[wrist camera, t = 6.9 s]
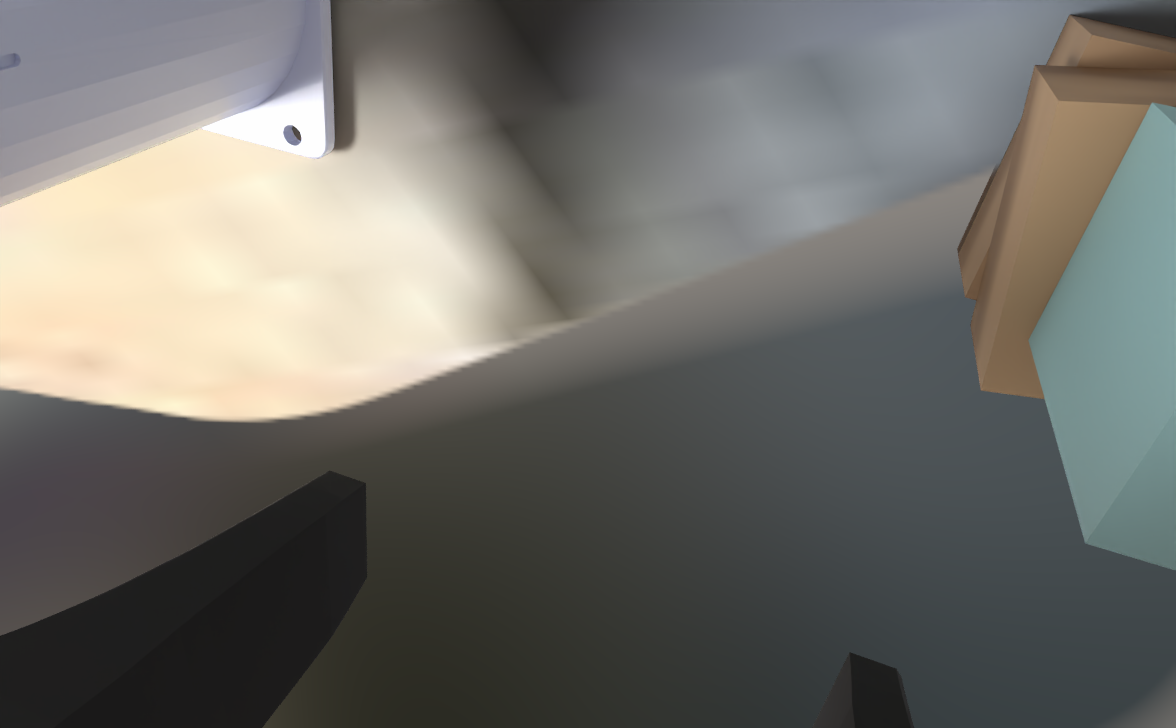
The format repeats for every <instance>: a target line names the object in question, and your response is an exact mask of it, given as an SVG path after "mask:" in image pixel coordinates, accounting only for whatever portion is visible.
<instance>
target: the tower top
mask: <svg viewBox="0 0 1176 728" xmlns="http://www.w3.org/2000/svg"><path fill="white" fill-rule="evenodd" d="M1152 102H1153V103H1158V104H1162V105H1167V106H1172V107H1176V70H1153V69H1127V68H1101V67H1074V66H1048V65H1035V66H1034V70H1033V74H1032V78H1031V82H1030V86H1029V90H1028V94H1027V99H1026V103H1025V107H1024V111H1023V115H1022V119H1021V123H1020V127H1019V131H1018V135H1017V139H1016V143H1015V147H1014V151H1013V155H1012V159H1011V163H1010V167H1009V171H1008V175H1007V179H1006V183H1005V187H1004V191H1003V195H1002V199H1001V203H1000V207H999V212H998V216H997V220H996V224H995V228H994V232H993V236H992V240H991V244H990V248H989V252H988V256H987V260H986V264H985V268H984V272H983V276H982V280H981V285H980V289H979V293H978V297H977V300H976V305H975V308H974V312H973V316H972V320H971V331H972V338H973V344H974V350H975V357H976V363H977V369H978V375H979V382H980V388H981V390H982V391H989V392H997V393H1005V394H1011V395H1019V396H1026V397H1033V398H1040V399H1045V398H1044V394H1043V391H1042V387H1041V384H1040V380H1039V376H1038V373H1037V369H1036V366H1035V362H1034V359H1033V355H1032V351H1031V348H1030V344H1029V341H1028V340H1029V338H1030V336H1031V334H1032V332H1033V330H1034V328H1035V326H1036V325H1037V323H1038V321H1039V319H1040V317H1041V315H1042V313H1043V311H1044V309H1045V307H1046V305H1047V303H1048V301H1049V300H1050V298H1051V296H1052V294H1053V292H1054V290H1055V288H1056V286H1057V284H1058V282H1059V280H1060V278H1061V276H1062V275H1063V273H1064V271H1065V269H1066V267H1067V265H1068V263H1069V261H1070V259H1071V257H1072V255H1073V253H1074V252H1075V250H1076V248H1077V246H1078V244H1079V242H1080V240H1081V238H1082V236H1083V234H1084V232H1085V230H1086V228H1087V227H1088V225H1089V223H1090V221H1091V219H1092V217H1093V215H1094V213H1095V211H1096V209H1097V207H1098V205H1099V203H1100V202H1101V200H1102V198H1103V196H1104V194H1105V192H1106V190H1107V188H1108V186H1109V184H1110V182H1111V180H1112V178H1113V177H1114V175H1115V173H1116V171H1117V169H1118V167H1119V165H1120V163H1121V161H1122V159H1123V157H1124V155H1125V153H1126V152H1127V150H1128V148H1129V146H1130V144H1131V142H1132V140H1133V138H1134V136H1135V134H1136V132H1137V130H1138V129H1139V127H1140V125H1141V123H1142V121H1143V119H1144V117H1145V115H1146V113H1147V111H1148V109H1149V107H1150V105H1151V104H1152Z"/></svg>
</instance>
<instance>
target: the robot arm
mask: <svg viewBox="0 0 1176 728" xmlns="http://www.w3.org/2000/svg"><path fill="white" fill-rule="evenodd" d="M293 126H294V127H296V128H297V129H298V130H299V132H300V134H301V137H302V139H301V140H299V139H297V138H296V136H295V135H294V133H293V130H292V127H293ZM198 129H204V130H207V131H211V132H215V133H219V134H222V135H226V136H230V137H234V138H237V139H241V140H245V141H249V142H252V143H256V144H260V145H264V146H267V147H271V148H275V149H279V150H282V151H286V152H290V153H293V154H297V155H301V156H305V157H308V158H314V159H319V158H321V157H323V156H325V155H327V154H329V153H330V152H331V151H332V150H333V148H334V143H335V128H334V97H333V66H332V36H331V5H330V0H0V207H2V206H4V205H7V204H9V203H12V202H14V201H17V200H19V199H22V198H24V197H27V196H30V195H32V194H35V193H37V192H40V191H42V190H45V189H47V188H50V187H52V186H55V185H58V184H60V183H63V182H65V181H68V180H70V179H73V178H75V177H78V176H80V175H83V174H86V173H88V172H91V171H93V170H96V169H98V168H101V167H103V166H106V165H109V164H111V163H114V162H116V161H119V160H121V159H124V158H126V157H129V156H131V155H134V154H137V153H139V152H142V151H144V150H147V149H149V148H152V147H154V146H157V145H159V144H162V143H165V142H167V141H170V140H172V139H175V138H177V137H180V136H182V135H185V134H187V133H190V132H193V131H195V130H198ZM366 578H367V540H366V483H364V482H361V481H358V480H355V479H352V478H349V477H346V476H344V475H341V474H338V473H335V472H332V471H328V472H326V473H325V474H323V475H321V476H319V477H317V478H316V479H314V480H312V481H310V482H308V483H307V484H305V485H303V486H301V487H300V488H298V489H296V490H295V491H293V492H291V493H289V494H288V495H286V496H284V497H282V498H281V499H279V500H277V501H276V502H274V503H272V504H271V505H269V506H267V507H265V508H264V509H262V510H260V511H258V512H257V513H255V514H253V515H251V516H250V517H248V518H246V519H244V520H243V521H241V522H239V523H237V524H236V525H234V526H232V527H230V528H228V529H227V530H225V531H223V532H221V533H219V534H217V535H216V536H214V537H212V538H210V539H208V540H207V541H205V542H203V543H201V544H199V545H198V546H196V547H194V548H192V549H190V550H188V551H187V552H185V553H183V554H181V555H179V556H177V557H175V558H173V559H171V560H169V561H167V562H165V563H163V564H161V565H159V566H157V567H155V568H153V569H151V570H149V571H147V572H145V573H143V574H141V575H139V576H137V577H135V578H133V579H131V580H129V581H128V582H125V583H123V584H121V585H119V586H117V587H115V588H113V589H111V590H109V591H107V592H104V593H102V594H100V595H98V596H96V597H94V598H92V599H89V600H87V601H85V602H83V603H80V604H78V605H76V606H74V607H71V608H69V609H66V610H64V611H62V612H59V613H57V614H55V615H52V616H50V617H47V618H45V619H43V620H40V621H38V622H36V623H33V624H31V625H28V626H26V627H23V628H20V629H18V630H15V631H13V632H10V633H7V634H4V635H1V636H0V728H262V727H263V726H264V725H265V723H266V722H267V721H268V719H269V718H270V717H271V716H272V714H273V713H274V712H275V710H276V709H277V708H278V706H279V705H280V704H281V703H282V701H283V700H284V699H285V697H286V696H287V695H288V693H289V692H290V691H291V690H292V688H293V687H294V686H295V684H296V683H297V682H298V681H299V679H300V678H301V677H302V675H303V674H304V673H305V671H306V670H307V669H308V668H309V666H310V665H311V664H312V662H313V661H314V659H315V658H316V657H317V656H318V654H319V653H320V652H321V650H322V649H323V648H324V646H325V645H326V644H327V642H328V641H329V640H330V638H331V637H332V635H333V634H334V632H335V630H336V629H337V627H338V626H339V624H340V622H341V621H342V619H343V618H344V616H345V614H346V613H347V611H348V609H349V608H350V606H351V604H352V602H353V601H354V599H355V597H356V595H357V594H358V592H359V590H360V589H361V587H362V585H363V583H364V581H365V580H366ZM812 728H914V726H913V722H912V718H911V714H910V711H909V707H908V703H907V699H906V695H905V691H904V687H903V683H902V678H901V676H900V674H899V673H898V671H897V669H896V668H893V667H890V666H887V665H884V664H881V663H878V662H876V661H873V660H870V659H867V658H864V657H861V656H859V655H856V654H853V653H849V655H848V657H847V659H846V661H845V663H844V665H843V667H842V669H841V671H840V673H839V675H838V677H837V679H836V681H835V683H834V685H833V687H832V689H831V691H830V693H829V695H828V697H827V699H826V701H825V703H824V705H823V707H822V709H821V711H820V713H819V715H818V717H817V719H816V721H815V723H814V725H813V727H812Z"/></svg>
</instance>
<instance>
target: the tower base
mask: <svg viewBox="0 0 1176 728" xmlns="http://www.w3.org/2000/svg"><path fill="white" fill-rule="evenodd" d="M1046 65H1048V66H1074V67H1101V68H1127V69H1153V70H1176V38H1172V37H1168V36H1163V35H1159V34H1154V33H1150V32H1145V31H1141V30H1136V29H1132V28H1127V27H1122V26H1118V25H1113V24H1109V23H1104V22H1100V21H1095V20H1091V19H1086V18H1082V17H1077V16H1073V15H1069V17H1068V19H1067V21H1066V23H1065V26H1064V28H1063V30H1062V32H1061V34H1060V36H1059V39H1058V41H1057V43H1056V45H1055V47H1054V49H1053V52H1052V54H1051V56H1050V58H1049V60H1048V62H1047V64H1046ZM1021 119H1022V118H1021ZM1020 123H1021V121H1020ZM1020 123H1019V125H1018V127H1017V129H1016V131H1015V134H1014V136H1013V138H1012V140H1011V142H1010V144H1009V146H1008V149H1007V151H1006V153H1005V155H1004V157H1003V159H1002V162H1001V164H1000V166H999V167H997V168H994V169H993V172H992V174H991V176H990V178H989V181H988V182H987V185H986V187H985V189H984V191H983V193H982V196H981V198H980V200H979V202H978V204H977V206H976V209H975V211H974V213H973V215H972V217H971V220H970V222H969V224H968V226H967V228H966V230H965V233H964V235H963V237H962V239H961V241H960V244H959V246H958V248H957V251H958V256H959V262H960V269H961V275H962V281H963V288H964V293H965V297H966V298H970V299H973V300H977V297H978V293H979V289H980V285H981V280H982V276H983V272H984V268H985V264H986V260H987V256H988V252H989V248H990V244H991V240H992V236H993V232H994V228H995V224H996V220H997V216H998V212H999V207H1000V203H1001V199H1002V195H1003V191H1004V187H1005V183H1006V179H1007V175H1008V171H1009V167H1010V163H1011V159H1012V155H1013V151H1014V147H1015V143H1016V139H1017V135H1018V131H1019V127H1020Z"/></svg>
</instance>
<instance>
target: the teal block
mask: <svg viewBox="0 0 1176 728" xmlns="http://www.w3.org/2000/svg"><path fill="white" fill-rule="evenodd" d="M1028 341H1029V344H1030V348H1031V351H1032V355H1033V359H1034V362H1035V366H1036V369H1037V373H1038V376H1039V380H1040V384H1041V387H1042V391H1043V394H1044V398H1045V401H1046V405H1047V408H1048V412H1049V416H1050V419H1051V422H1052V426H1053V430H1054V433H1055V437H1056V440H1057V444H1058V448H1059V451H1060V454H1061V458H1062V462H1063V465H1064V469H1065V472H1066V476H1067V480H1068V483H1069V487H1070V490H1071V493H1072V498H1073V501H1074V504H1075V508H1076V512H1077V515H1078V519H1079V522H1080V526H1081V529H1082V533H1083V536H1084V540H1085V543H1086V544H1089V545H1093V546H1096V547H1100V548H1103V549H1106V550H1109V551H1113V552H1116V553H1120V554H1123V555H1126V556H1129V557H1133V558H1136V559H1139V560H1143V561H1146V562H1149V563H1153V564H1156V565H1160V566H1163V567H1166V568H1169V569H1173V570H1176V107H1172V106H1167V105H1162V104H1158V103H1153V102H1152V104H1151V105H1150V107H1149V109H1148V111H1147V113H1146V115H1145V117H1144V119H1143V121H1142V123H1141V125H1140V127H1139V129H1138V130H1137V132H1136V134H1135V136H1134V138H1133V140H1132V142H1131V144H1130V146H1129V148H1128V150H1127V152H1126V153H1125V155H1124V157H1123V159H1122V161H1121V163H1120V165H1119V167H1118V169H1117V171H1116V173H1115V175H1114V177H1113V178H1112V180H1111V182H1110V184H1109V186H1108V188H1107V190H1106V192H1105V194H1104V196H1103V198H1102V200H1101V202H1100V203H1099V205H1098V207H1097V209H1096V211H1095V213H1094V215H1093V217H1092V219H1091V221H1090V223H1089V225H1088V227H1087V228H1086V230H1085V232H1084V234H1083V236H1082V238H1081V240H1080V242H1079V244H1078V246H1077V248H1076V250H1075V252H1074V253H1073V255H1072V257H1071V259H1070V261H1069V263H1068V265H1067V267H1066V269H1065V271H1064V273H1063V275H1062V276H1061V278H1060V280H1059V282H1058V284H1057V286H1056V288H1055V290H1054V292H1053V294H1052V296H1051V298H1050V300H1049V301H1048V303H1047V305H1046V307H1045V309H1044V311H1043V313H1042V315H1041V317H1040V319H1039V321H1038V323H1037V325H1036V326H1035V328H1034V330H1033V332H1032V334H1031V336H1030V338H1029V340H1028Z"/></svg>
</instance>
